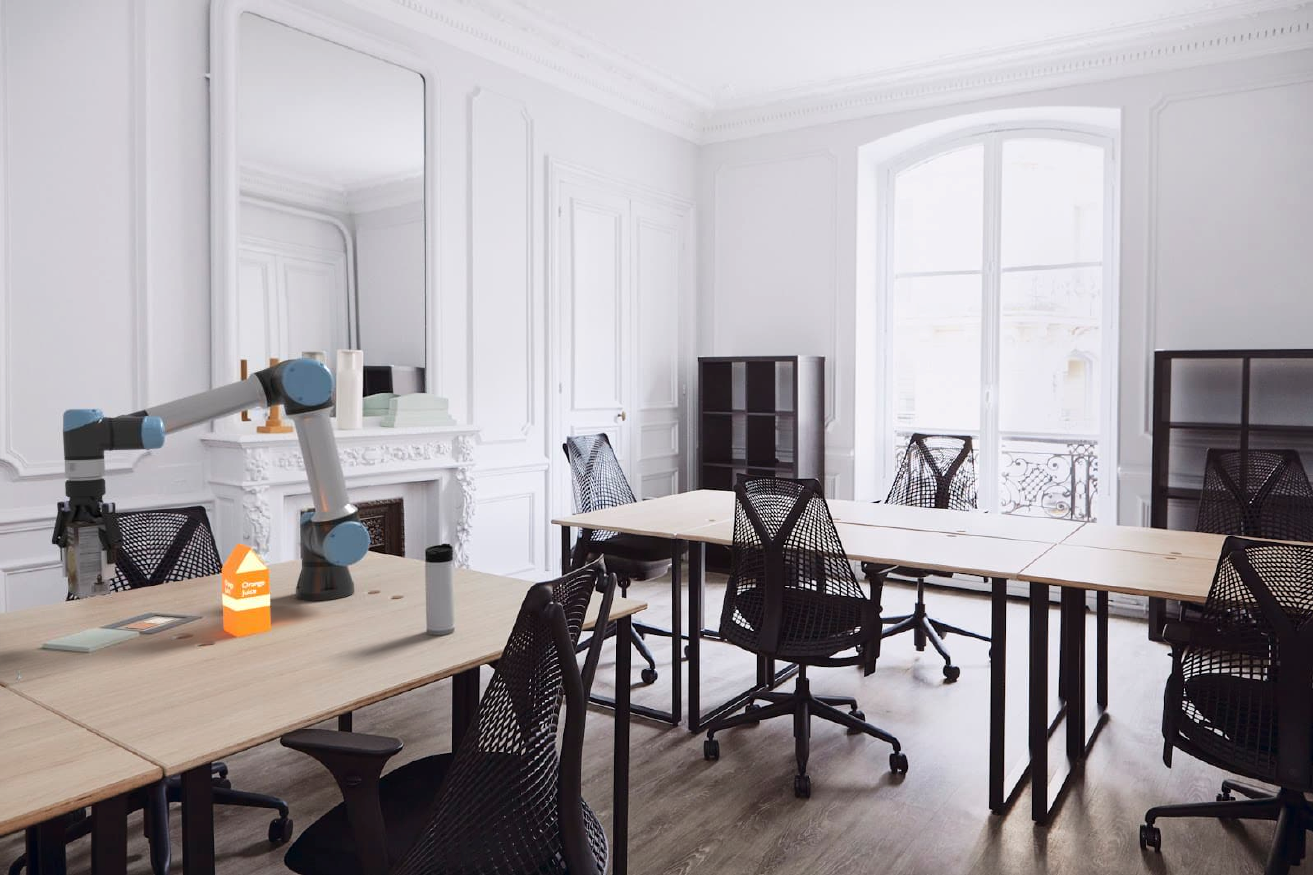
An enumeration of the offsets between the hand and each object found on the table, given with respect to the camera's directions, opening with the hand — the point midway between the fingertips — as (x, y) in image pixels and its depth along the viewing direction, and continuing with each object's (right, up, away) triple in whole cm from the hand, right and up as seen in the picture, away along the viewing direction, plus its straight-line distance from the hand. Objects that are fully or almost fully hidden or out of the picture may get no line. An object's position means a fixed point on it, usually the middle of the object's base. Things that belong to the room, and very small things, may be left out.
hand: (88, 577), depth 200 cm
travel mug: (+77, -14, +7) cm, 78 cm away
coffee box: (0, -4, 0) cm, 4 cm away
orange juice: (+31, -14, +10) cm, 35 cm away
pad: (0, -15, +1) cm, 15 cm away
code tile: (+5, -14, +16) cm, 22 cm away
